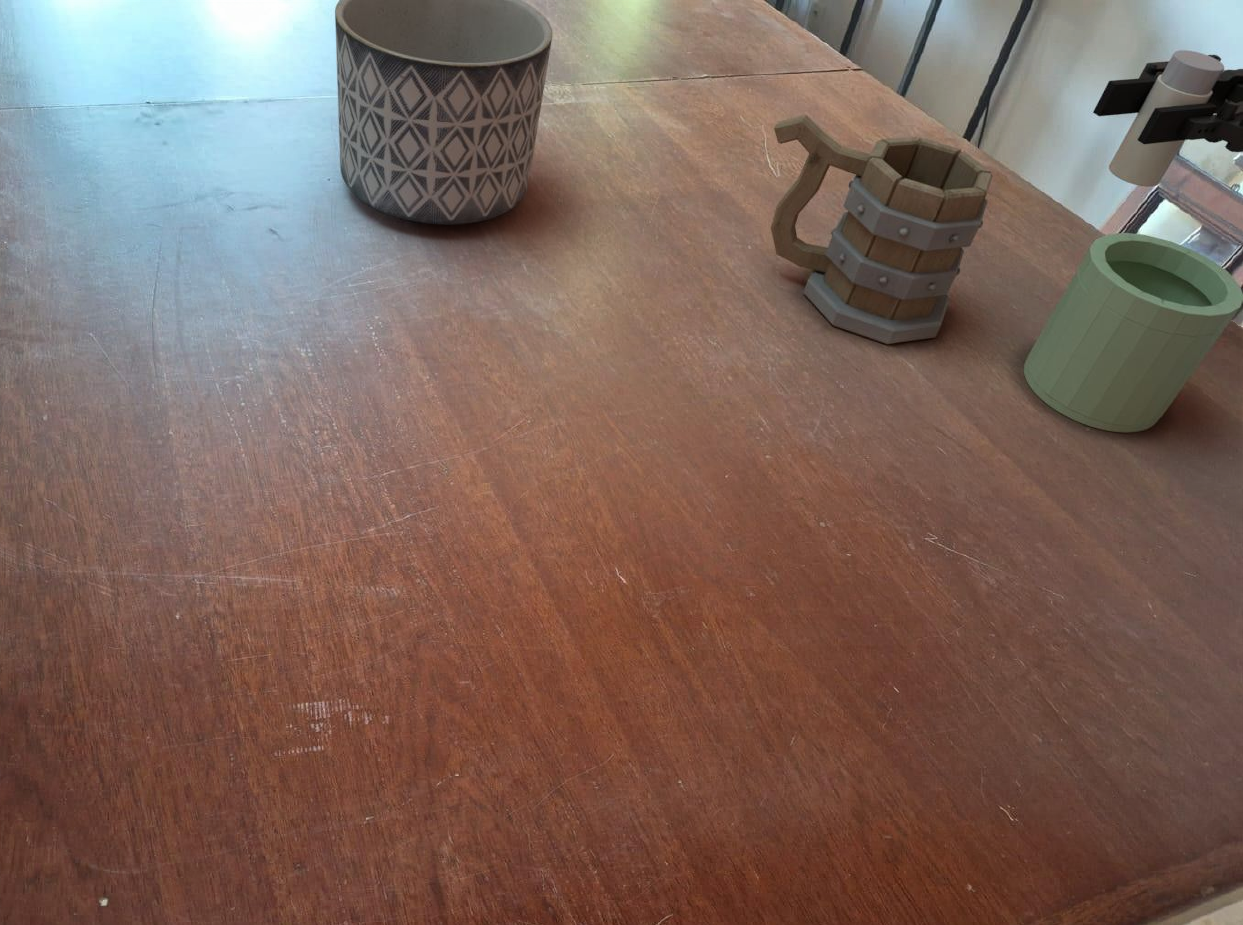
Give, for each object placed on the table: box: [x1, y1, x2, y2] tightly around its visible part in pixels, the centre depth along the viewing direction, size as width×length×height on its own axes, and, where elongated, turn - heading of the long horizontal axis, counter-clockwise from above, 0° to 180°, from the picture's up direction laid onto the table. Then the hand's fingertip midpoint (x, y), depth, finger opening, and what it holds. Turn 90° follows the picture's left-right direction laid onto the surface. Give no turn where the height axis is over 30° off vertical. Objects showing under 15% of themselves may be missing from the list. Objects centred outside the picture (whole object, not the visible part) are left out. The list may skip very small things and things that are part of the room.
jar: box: [1023, 232, 1243, 434], centre depth 90 cm, size 12×12×12 cm
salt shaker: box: [1108, 49, 1225, 188], centre depth 90 cm, size 4×4×10 cm
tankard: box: [770, 114, 993, 345], centre depth 96 cm, size 20×13×15 cm, turn 65°
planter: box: [334, 0, 553, 225], centre depth 100 cm, size 19×19×16 cm
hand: (1126, 112), depth 88 cm, fingers closed on salt shaker, 4 cm apart
